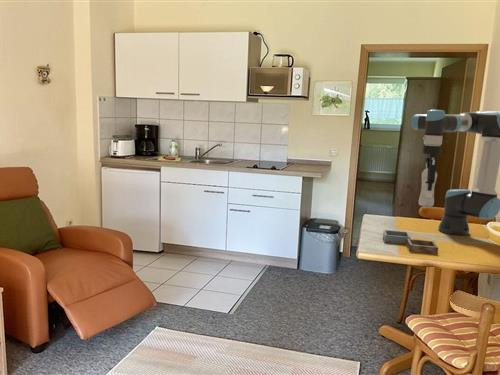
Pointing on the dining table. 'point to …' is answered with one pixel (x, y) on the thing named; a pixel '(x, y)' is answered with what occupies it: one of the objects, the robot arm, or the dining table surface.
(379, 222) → the dining table surface
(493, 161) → the robot arm
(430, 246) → the walnut collar
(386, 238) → the grey tray
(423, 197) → the silver metal bottle
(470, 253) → the dining table surface
